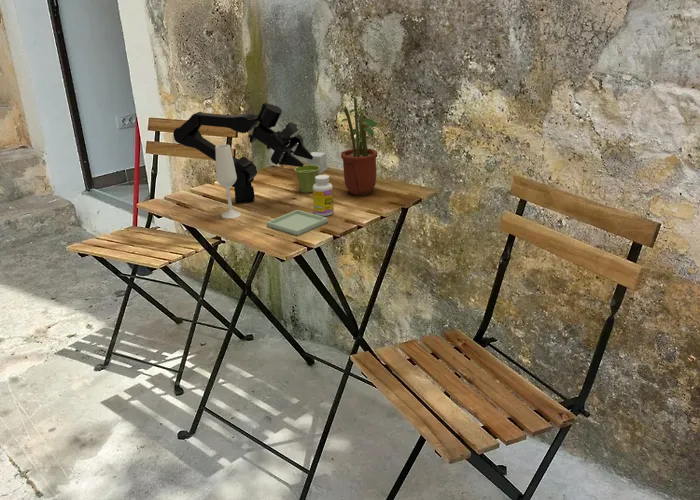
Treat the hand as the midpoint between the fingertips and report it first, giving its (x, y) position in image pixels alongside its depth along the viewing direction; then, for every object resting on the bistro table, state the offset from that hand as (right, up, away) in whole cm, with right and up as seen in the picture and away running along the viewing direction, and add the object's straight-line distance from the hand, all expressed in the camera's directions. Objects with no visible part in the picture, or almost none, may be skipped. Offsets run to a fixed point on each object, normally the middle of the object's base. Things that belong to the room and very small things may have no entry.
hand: (307, 162), depth 224 cm
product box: (+1, +2, +44) cm, 44 cm away
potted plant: (+18, -8, +18) cm, 27 cm away
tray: (-3, -22, -11) cm, 25 cm away
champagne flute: (-26, -18, 0) cm, 32 cm away
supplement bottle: (+6, -18, -2) cm, 19 cm away
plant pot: (-1, -8, +21) cm, 23 cm away
